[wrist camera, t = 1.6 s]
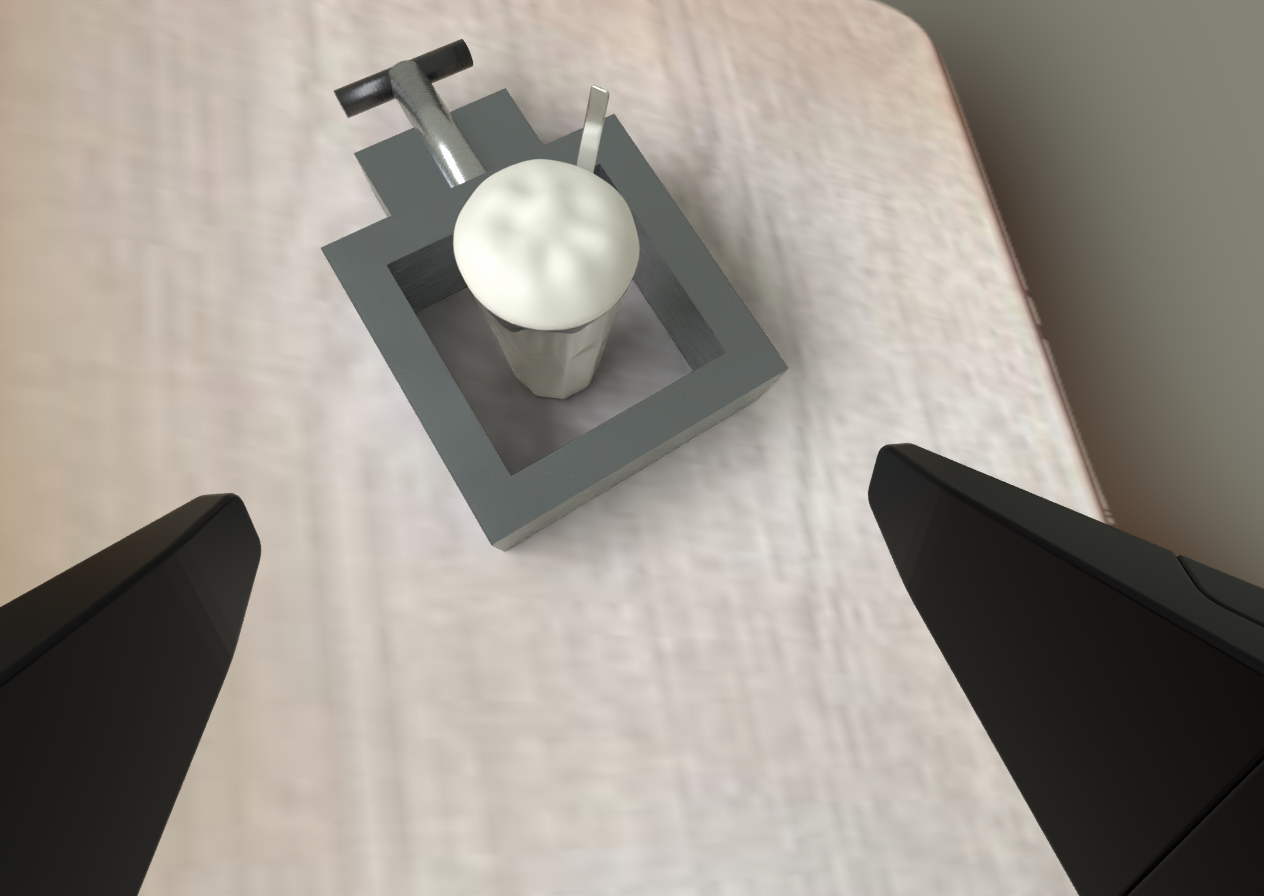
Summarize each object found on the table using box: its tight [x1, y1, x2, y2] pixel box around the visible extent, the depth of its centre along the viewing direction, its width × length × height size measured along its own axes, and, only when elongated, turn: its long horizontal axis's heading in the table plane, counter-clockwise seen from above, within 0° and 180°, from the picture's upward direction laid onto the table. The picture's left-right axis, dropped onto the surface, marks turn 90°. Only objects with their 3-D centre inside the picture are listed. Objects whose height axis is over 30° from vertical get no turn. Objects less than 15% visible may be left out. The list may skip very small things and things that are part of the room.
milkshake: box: [453, 85, 639, 399], centre depth 18 cm, size 4×5×10 cm
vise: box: [321, 39, 789, 551], centre depth 22 cm, size 17×11×4 cm, turn 32°
